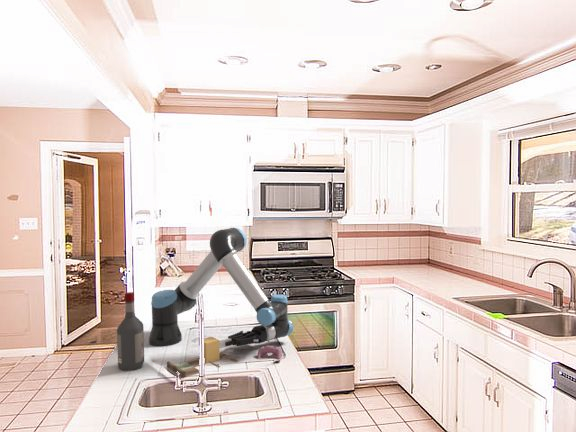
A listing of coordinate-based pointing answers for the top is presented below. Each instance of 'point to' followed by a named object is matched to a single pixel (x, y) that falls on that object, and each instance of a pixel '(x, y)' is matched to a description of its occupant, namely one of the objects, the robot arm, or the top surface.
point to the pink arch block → (269, 349)
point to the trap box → (192, 366)
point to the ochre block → (211, 349)
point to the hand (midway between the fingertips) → (217, 345)
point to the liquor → (130, 338)
